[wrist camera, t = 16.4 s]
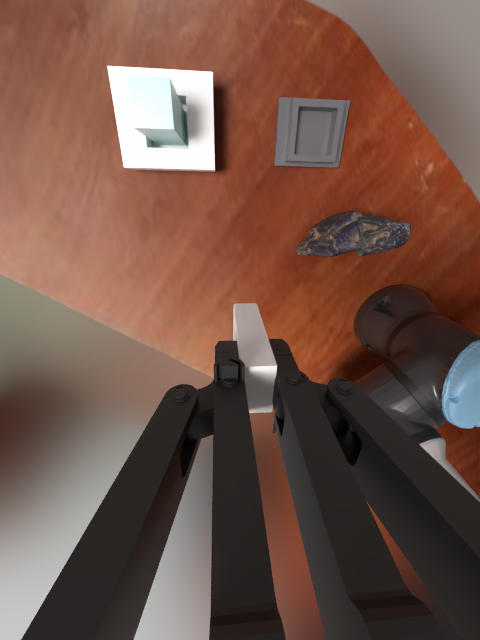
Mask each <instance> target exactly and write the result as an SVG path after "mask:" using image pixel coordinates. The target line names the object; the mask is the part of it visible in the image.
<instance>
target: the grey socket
mask: <svg viewBox="0 0 480 640" xmlns="http://www.w3.org/2000/svg"><path fill="white" fill-rule="evenodd" d="M349 105H350V101H345V100H325V99H306V98H286V97H279V99H278V108H277V122H276V137H275V151H274V165H273V166H290V167H323V168H338V167H339V163H340V157H341V151H342V145H343V140H344V134H345V128H346V122H347V116H348V110H349Z"/></svg>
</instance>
